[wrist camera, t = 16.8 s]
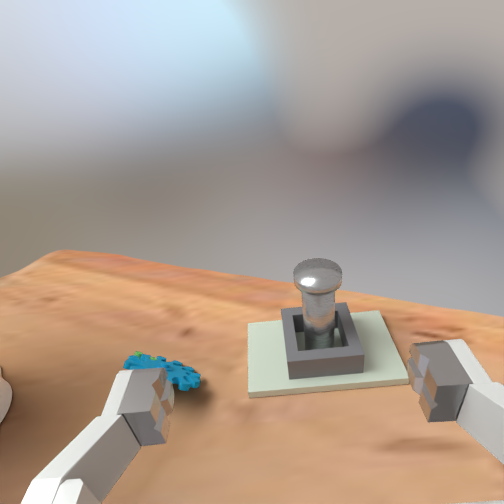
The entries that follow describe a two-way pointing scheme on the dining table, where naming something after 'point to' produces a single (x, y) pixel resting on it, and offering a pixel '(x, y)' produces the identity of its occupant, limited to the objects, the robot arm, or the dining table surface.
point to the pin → (318, 300)
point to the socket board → (322, 355)
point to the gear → (174, 369)
